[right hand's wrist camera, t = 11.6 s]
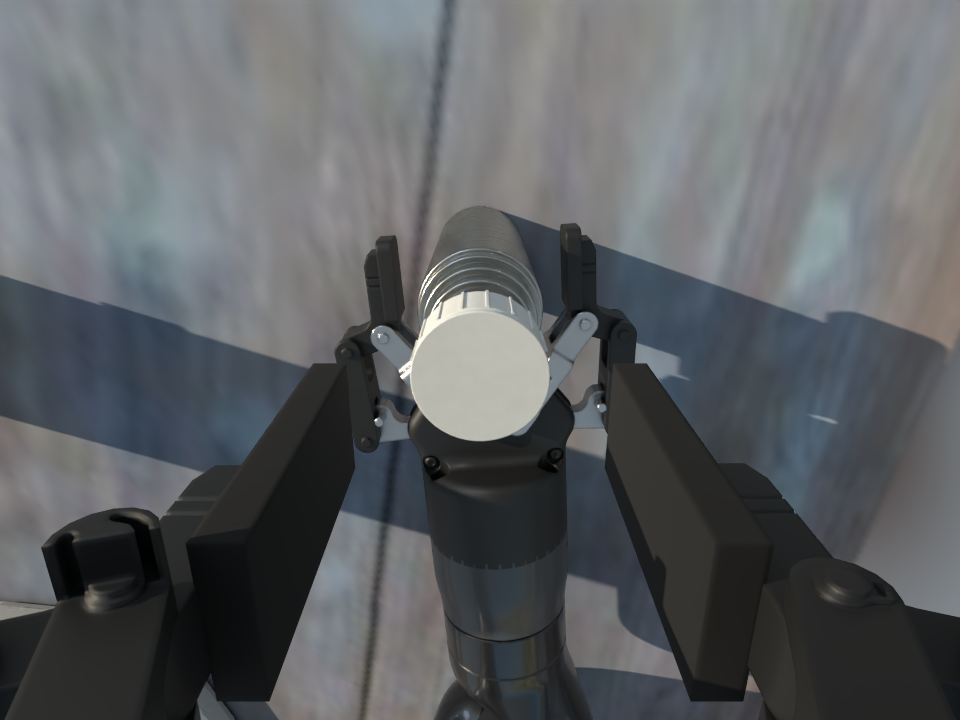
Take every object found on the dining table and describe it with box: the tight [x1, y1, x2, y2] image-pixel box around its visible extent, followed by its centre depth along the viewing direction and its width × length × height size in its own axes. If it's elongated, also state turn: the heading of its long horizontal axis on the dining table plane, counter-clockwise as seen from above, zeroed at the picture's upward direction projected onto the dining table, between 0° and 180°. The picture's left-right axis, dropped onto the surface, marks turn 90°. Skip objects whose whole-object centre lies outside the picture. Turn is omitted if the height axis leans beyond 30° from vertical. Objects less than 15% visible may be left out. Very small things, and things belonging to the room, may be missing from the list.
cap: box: [410, 290, 551, 441], centre depth 18 cm, size 4×4×2 cm
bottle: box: [417, 206, 543, 331], centre depth 26 cm, size 5×5×19 cm
